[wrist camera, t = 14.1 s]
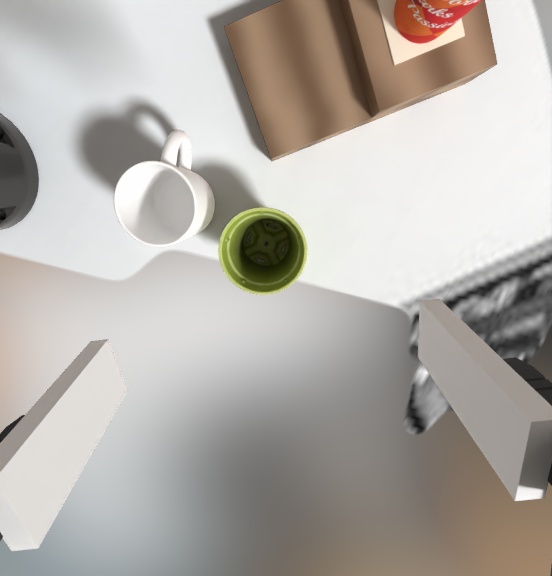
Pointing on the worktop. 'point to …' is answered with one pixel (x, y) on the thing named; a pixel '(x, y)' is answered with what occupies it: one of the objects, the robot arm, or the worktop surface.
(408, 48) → the step riser
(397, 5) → the paper cup
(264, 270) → the plant pot
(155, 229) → the mug
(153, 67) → the worktop surface
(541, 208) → the worktop surface
